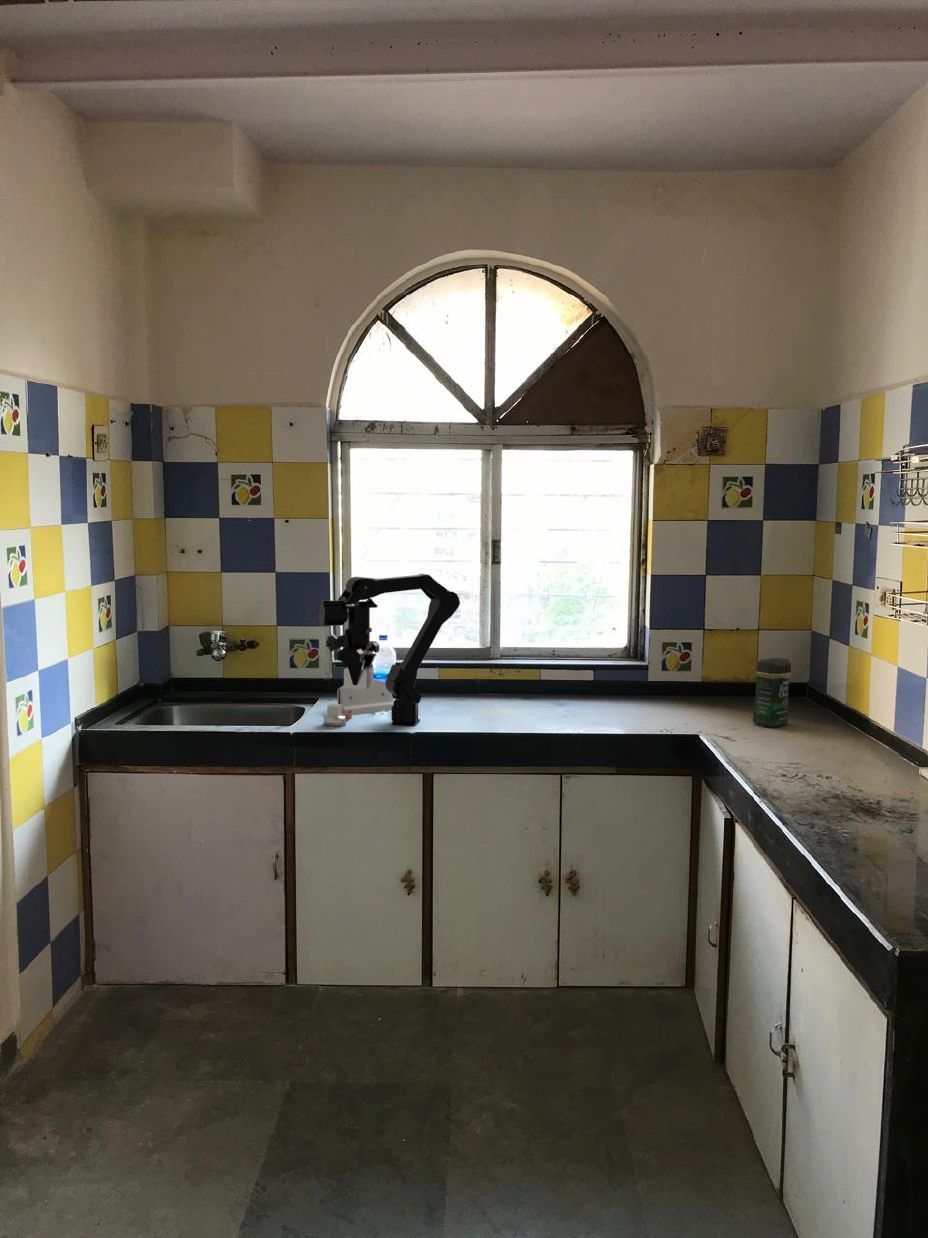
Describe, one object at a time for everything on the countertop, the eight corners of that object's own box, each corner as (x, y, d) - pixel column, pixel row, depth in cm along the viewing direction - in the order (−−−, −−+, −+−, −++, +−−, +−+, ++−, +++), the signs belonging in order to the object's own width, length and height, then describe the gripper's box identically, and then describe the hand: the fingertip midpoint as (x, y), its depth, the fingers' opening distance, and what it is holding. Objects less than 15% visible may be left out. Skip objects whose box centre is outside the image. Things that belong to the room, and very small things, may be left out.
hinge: (344, 716, 273) (339, 681, 274) (337, 718, 277) (332, 684, 278) (396, 709, 282) (391, 676, 283) (389, 712, 286) (384, 679, 287)
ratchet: (355, 718, 270) (355, 699, 269) (341, 728, 258) (341, 708, 257) (335, 717, 271) (335, 698, 270) (320, 727, 259) (320, 706, 259)
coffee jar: (773, 729, 262) (776, 662, 260) (748, 724, 268) (751, 658, 266) (793, 724, 268) (796, 658, 266) (768, 719, 274) (771, 654, 272)
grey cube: (373, 685, 260) (373, 666, 260) (366, 689, 254) (366, 670, 254) (351, 684, 262) (351, 665, 261) (343, 688, 256) (343, 669, 255)
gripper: (341, 619, 267) (341, 675, 268) (317, 627, 248) (317, 687, 250) (380, 621, 264) (379, 677, 266) (359, 629, 246) (359, 690, 248)
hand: (358, 682), depth 258 cm, fingers closed on grey cube, 6 cm apart
